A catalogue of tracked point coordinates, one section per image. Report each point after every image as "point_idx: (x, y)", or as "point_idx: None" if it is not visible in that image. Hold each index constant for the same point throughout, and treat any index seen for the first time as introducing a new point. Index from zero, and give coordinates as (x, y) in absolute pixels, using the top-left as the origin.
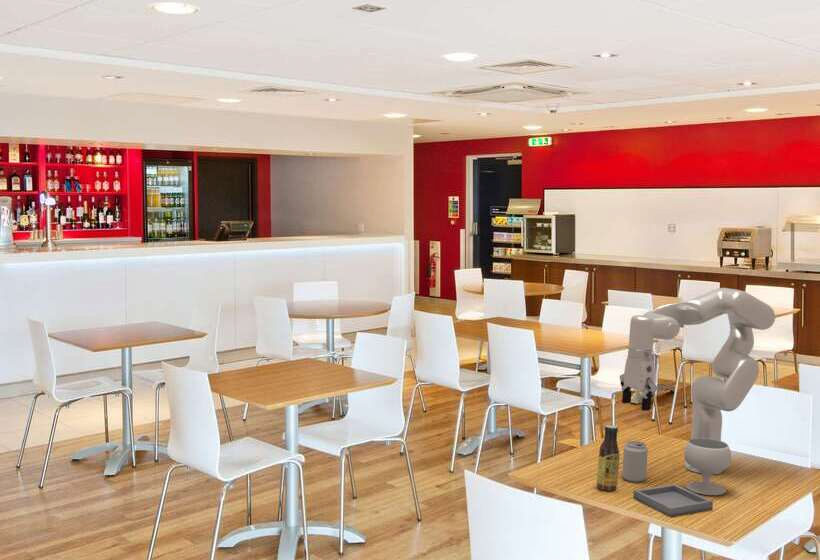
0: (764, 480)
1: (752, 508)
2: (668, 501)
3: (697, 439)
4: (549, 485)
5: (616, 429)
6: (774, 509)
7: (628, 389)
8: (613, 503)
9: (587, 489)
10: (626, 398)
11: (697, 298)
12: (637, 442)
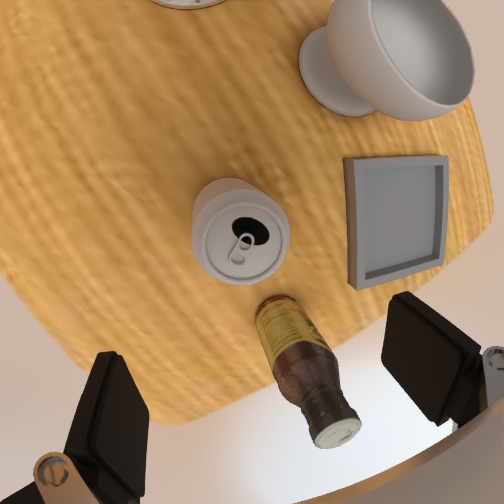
0: None
1: None
2: (398, 225)
3: (366, 12)
4: (230, 403)
5: (359, 419)
6: None
7: (107, 495)
8: (353, 330)
9: None
10: (135, 426)
11: None
12: (215, 220)
